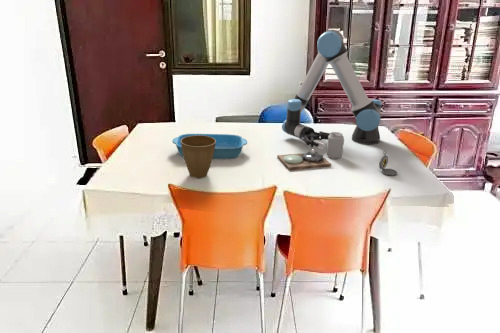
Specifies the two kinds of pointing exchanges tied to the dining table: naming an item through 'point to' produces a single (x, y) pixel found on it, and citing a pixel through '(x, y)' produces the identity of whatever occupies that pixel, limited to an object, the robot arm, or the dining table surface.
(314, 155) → the gear
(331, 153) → the can
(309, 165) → the gear board
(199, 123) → the dining table surface
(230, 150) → the casserole dish
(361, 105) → the robot arm
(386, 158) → the pocket watch
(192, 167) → the plant pot
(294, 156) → the output pad
